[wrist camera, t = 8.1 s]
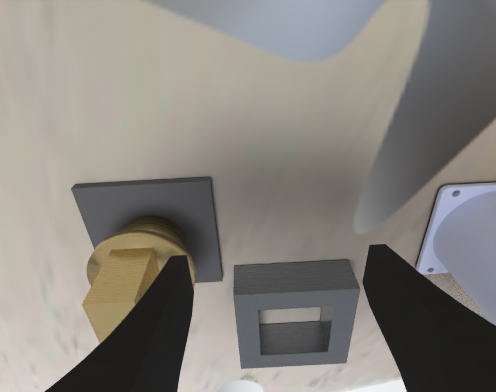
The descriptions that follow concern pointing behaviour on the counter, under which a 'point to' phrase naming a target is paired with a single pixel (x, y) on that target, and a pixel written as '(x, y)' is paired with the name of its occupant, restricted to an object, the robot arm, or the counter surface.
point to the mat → (156, 214)
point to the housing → (295, 296)
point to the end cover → (130, 268)
